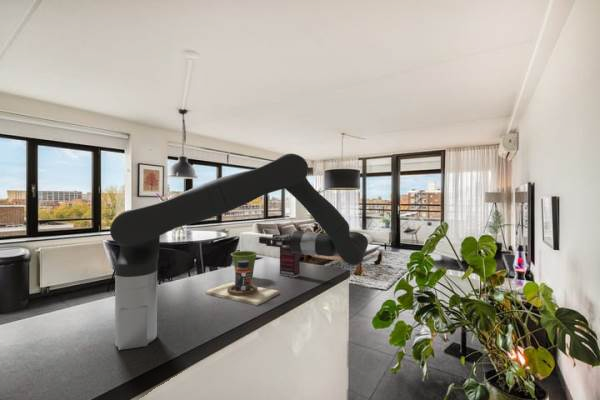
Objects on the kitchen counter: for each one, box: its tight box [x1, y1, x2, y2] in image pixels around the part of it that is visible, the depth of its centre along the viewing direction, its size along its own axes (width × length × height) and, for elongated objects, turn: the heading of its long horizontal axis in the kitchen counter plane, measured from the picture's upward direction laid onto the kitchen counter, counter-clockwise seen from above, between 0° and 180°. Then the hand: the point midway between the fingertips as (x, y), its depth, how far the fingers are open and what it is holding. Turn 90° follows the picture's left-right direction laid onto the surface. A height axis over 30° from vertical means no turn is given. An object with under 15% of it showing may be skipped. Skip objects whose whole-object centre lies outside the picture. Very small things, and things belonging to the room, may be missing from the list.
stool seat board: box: [205, 281, 280, 306], centre depth 109 cm, size 24×14×2 cm, turn 62°
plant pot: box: [230, 250, 258, 279], centre depth 130 cm, size 12×12×11 cm
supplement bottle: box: [234, 260, 252, 291], centre depth 109 cm, size 6×6×11 cm
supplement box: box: [279, 246, 301, 278], centre depth 136 cm, size 9×5×16 cm, turn 58°
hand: (266, 238), depth 104 cm, fingers open, 8 cm apart
